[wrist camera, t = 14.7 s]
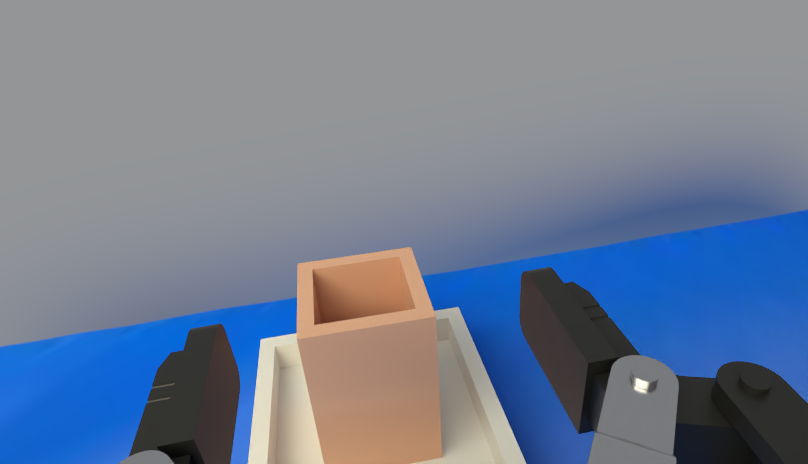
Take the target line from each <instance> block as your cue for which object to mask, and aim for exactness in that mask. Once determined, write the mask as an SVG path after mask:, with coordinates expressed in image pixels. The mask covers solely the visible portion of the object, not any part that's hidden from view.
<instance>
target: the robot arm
mask: <svg viewBox="0 0 808 464" xmlns="http://www.w3.org/2000/svg"><path fill="white" fill-rule="evenodd" d="M520 324H521V328H522V332H523V334H524V337H525V339H526V341H527V342H528V344H529V346H530V348H531V350H532V351H533V353H534V355H535V357H536V359H537V360H538V362H539V364H540V366H541V368H542V369H543V371H544V373H545V375H546V377H547V378H548V380H549V382H550V384H551V385H552V387H553V389H554V391H555V393H556V394H557V396H558V398H559V400H560V402H561V403H562V405H563V407H564V409H565V411H566V412H567V414H568V416H569V418H570V420H571V421H572V423H573V425H574V427H575V429H576V430H577V432H578V434H581V433H586V432H590V431H594V432H595V435H594V439H593V443H592V447H591V451H590V456H589V460H588V464H808V403H807V402H806V401H805V400H804V399H803V398H802V397H801V396H800V395H799V394H798V393H797V392H796V391H795V390H794V389H793V388H792V387H791V386H790V385H789V384H788V383H787V382H786V381H785V380H784V379H782V378H781V377H780V376H779V375H777V374H776V373H775V372H773V371H771V370H769V369H767V368H765V367H763V366H760V365H757V364H753V363H749V362H739V361H737V362H730V363H727V364H724V365H723V366H721V367H720V368H719V370H718V372H717V375H716V378H703V377H688V376H678V375H675V374H674V373H673V371H672V370H671V369H670V368H669V367H667V366H666V365H665V364H663V363H661V362H660V361H658V360H655V359H653V358H650V357H646V356H641V355H640V354H639V353H638V352H637V350H636V349H635V348H634V347H633V345H632V344H631V343H630V342H629V341H628V339H627V338H626V337H625V336H624V334H623V333H622V332H621V331H620V329H619V328H618V327H617V326H616V324H615V323H614V322H613V321H612V320H611V318H608V315H607V313H606V312H605V311H604V310H603V308H602V307H600V305H599V303H598V302H597V301H596V300H595V299H594V297H593V296H592V295H591V294H590V292H589V291H587V290H585V289H584V288H582V287H580V286H579V285H577V284H575V283H574V282H569V283H563V282H562V280H561V279H560V278H559V276H558V275H557V274H556V272H555V271H554V270H553V269H552V268H550V267H547V268H542V269H536V270H530V271H525V272H523V273H522V276H521V293H520ZM239 393H240V378H239V371H238V367H237V364H236V361H235V358H234V355H233V352H232V349H231V346H230V344H229V341H228V338H227V335H226V332H225V329H224V327H223V325H222V324H216V325H210V326H204V327H199V328H193V329H190V331H189V333H188V336H187V340H186V343H185V347H184V350H183V351H178V352H172V353H170V355H169V356H168V357H167V358H166V360H165V361H164V362H163V363H162V364H161V366H160V367H159V368H158V370H157V373H156V376H155V379H154V382H153V385H152V389H151V391H150V394H149V397H148V404H146V406H145V409H144V412H143V415H142V419H141V422H140V425H139V428H138V431H137V434H136V437H135V440H134V443H133V446H132V449H131V452H130V455H129V457H128V458H126V459H124V460H123V461H121V462H120V463H119V464H230V461H231V453H232V446H233V438H234V431H235V423H236V416H237V408H238V400H239Z"/></svg>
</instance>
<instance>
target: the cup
mask: <svg viewBox="0 0 808 464" xmlns="http://www.w3.org/2000/svg"><path fill="white" fill-rule="evenodd" d="M297 283H298V285H297V343H298V348H299V352H300V357H301V361H302V366H303V370H304V375H305V379H306V384H307V388H308V393H309V397H310V402H311V406H312V411H313V415H314V420H315V425H316V429H317V434H318V438H319V443H320V447H321V452H322V456H323V461H324V464H411V463H416V462H422V461H427V460H432V459H437V458H442V437H441V415H440V394H439V372H438V350H437V328H436V315H435V312H434V310H433V307H432V304H431V301H430V299H429V296H428V293H427V290H426V288H425V285H424V282H423V279H422V276H421V274H420V271H419V268H418V266H417V263H416V260H415V257H414V254H413V252H412V249H411V247H408V248H402V249H394V250H387V251H381V252H374V253H368V254H361V255H353V256H347V257H340V258H333V259H326V260H319V261H313V262H307V263H300V264H298V282H297Z"/></svg>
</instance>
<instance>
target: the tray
mask: <svg viewBox="0 0 808 464" xmlns="http://www.w3.org/2000/svg"><path fill="white" fill-rule="evenodd" d="M434 312H435V315H436V328H437V350H438V372H439V394H440V415H441V437H442V458H437V459H432V460H427V461H422V462H416V463H411V464H526V462H525V459H524V457H523V455H522V452H521V450H520V448H519V445H518V443H517V441H516V439H515V436H514V434H513V432H512V429H511V427H510V425H509V422H508V420H507V418H506V416H505V413H504V411H503V409H502V406H501V404H500V402H499V399H498V397H497V395H496V393H495V390H494V388H493V386H492V383H491V381H490V379H489V376H488V374H487V372H486V370H485V367H484V365H483V363H482V360H481V358H480V356H479V353H478V351H477V349H476V346H475V344H474V342H473V340H472V337H471V335H470V333H469V330H468V328H467V326H466V323H465V321H464V319H463V317H462V314H461V312H460V310H459V307H455V308H449V309H443V310H437V311H434ZM248 464H324V461H323V456H322V452H321V447H320V443H319V438H318V434H317V429H316V425H315V420H314V415H313V411H312V406H311V402H310V397H309V393H308V388H307V384H306V379H305V375H304V370H303V366H302V361H301V357H300V352H299V348H298V343H297V333H296V334H290V335H284V336H278V337H272V338H265V339H261V343H260V352H259V362H258V372H257V381H256V391H255V401H254V410H253V420H252V430H251V439H250V449H249V459H248Z"/></svg>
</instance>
